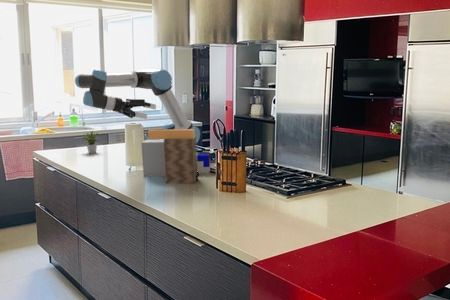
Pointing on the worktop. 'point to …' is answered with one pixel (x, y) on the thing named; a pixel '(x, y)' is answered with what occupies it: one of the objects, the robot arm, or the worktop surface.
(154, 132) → the orange bar
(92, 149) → the house plant
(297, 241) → the worktop surface
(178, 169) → the walnut stand
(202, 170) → the puzzle toy
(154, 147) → the plinth
